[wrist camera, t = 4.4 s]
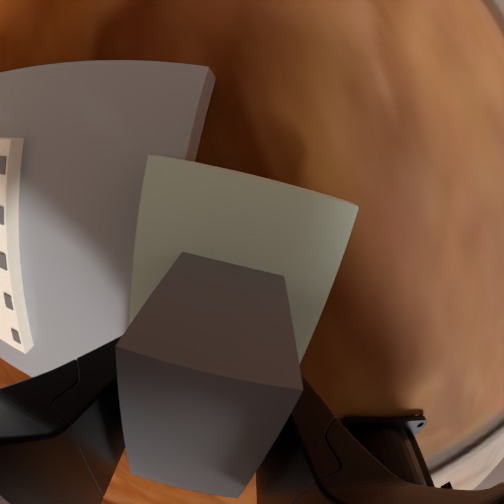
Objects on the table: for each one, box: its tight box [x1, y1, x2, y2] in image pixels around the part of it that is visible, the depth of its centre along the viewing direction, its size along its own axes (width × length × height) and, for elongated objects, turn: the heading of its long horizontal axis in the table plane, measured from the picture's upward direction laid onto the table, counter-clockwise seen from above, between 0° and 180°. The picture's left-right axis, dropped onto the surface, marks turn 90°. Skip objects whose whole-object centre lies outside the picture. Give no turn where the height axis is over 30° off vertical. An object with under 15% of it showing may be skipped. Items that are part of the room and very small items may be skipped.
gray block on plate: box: [115, 155, 359, 498], centre depth 7 cm, size 6×10×5 cm, turn 166°
